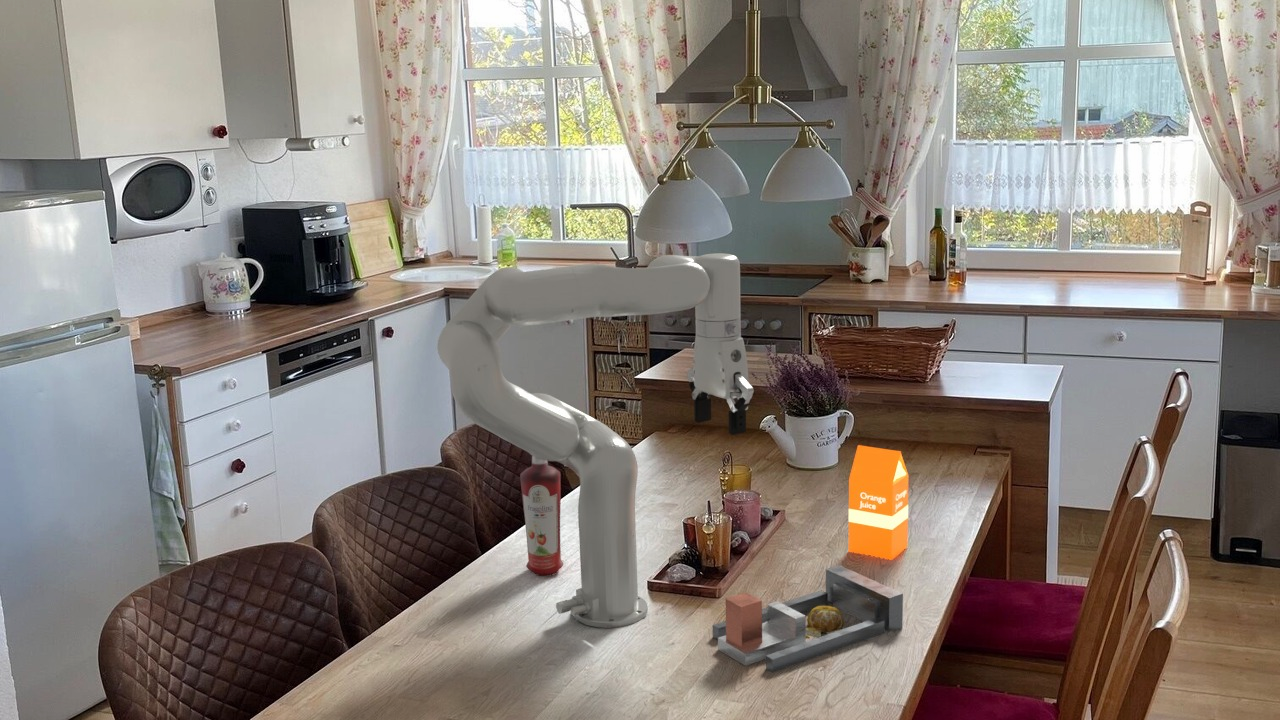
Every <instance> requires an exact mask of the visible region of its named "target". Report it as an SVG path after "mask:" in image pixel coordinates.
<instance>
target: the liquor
mask: <svg viewBox="0 0 1280 720" xmlns="http://www.w3.org/2000/svg"><path fill="white" fill-rule="evenodd" d="M519 477H520V486H521V497H522V499H521V500H522V506H523V507H522V508H523V513H524V514H523V515H524V522H525V533H526V544H527V545H526V546H527V556H528V557H527V558H528V561H527V562H526V565H525V566H526V568H527V569H528V570H529V571H530V572H531V573H533V574H534V575H535V576H539V577H547V576H548V577H550V576H553V575H556V574H557V573H558V572H559V570H561V569H562V568H563V566H564V562H563V560H562V553H561V552H562V551H561V502H562V501H561V500H562V499H561V497H562V496H561V471H560V470H558V469H557V468H556V467H554V466H551V465H549V461H545V460H542V459H539V458H536V457H535V456H533V455H531V466H529V467H527V468H525V469H524V470H522V472H521V473H520V475H519Z"/></svg>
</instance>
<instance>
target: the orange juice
mask: <svg viewBox="0 0 1280 720" xmlns="http://www.w3.org/2000/svg"><path fill="white" fill-rule="evenodd" d="M851 466H852V467H851V470H850V474H849V478H848V553H849V552H850V553H853V552H854V553H855V554H858V553H860V554H859V555H863V554H865V555H864V556H868V555H871V556H870V557H873V556H875V557H874V558H878V557H880V559H883V558H885V559H884V560H888V559H889V561H893V560H894V559H895V558H896V557H898V555H900V554H901V553H902V552H903V551H905V550H906V549H908V528H909V527H908V525H909V523H908V522H909V521H908V520H909V473H908V471H907V467H906V465H905V461H904V458H903V456H902V451H901V450H893V449H887V448H880V447H873V446H867V445H860V444H859V445H857V448H856V452H855V455H854V459H853V463H852V465H851ZM904 549H905V550H904Z"/></svg>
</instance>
